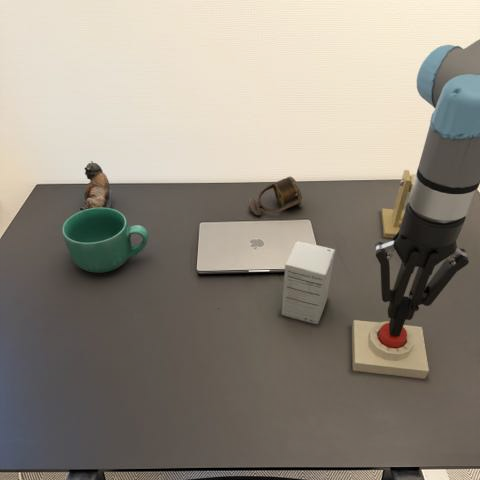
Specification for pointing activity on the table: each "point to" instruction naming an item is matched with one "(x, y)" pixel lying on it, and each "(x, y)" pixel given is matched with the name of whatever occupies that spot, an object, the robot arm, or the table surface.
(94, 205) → the brown figurine
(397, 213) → the wooden lever device
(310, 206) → the table surface
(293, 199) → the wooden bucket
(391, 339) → the button
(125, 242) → the mug
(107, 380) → the table surface
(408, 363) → the button base
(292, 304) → the white packaging box
